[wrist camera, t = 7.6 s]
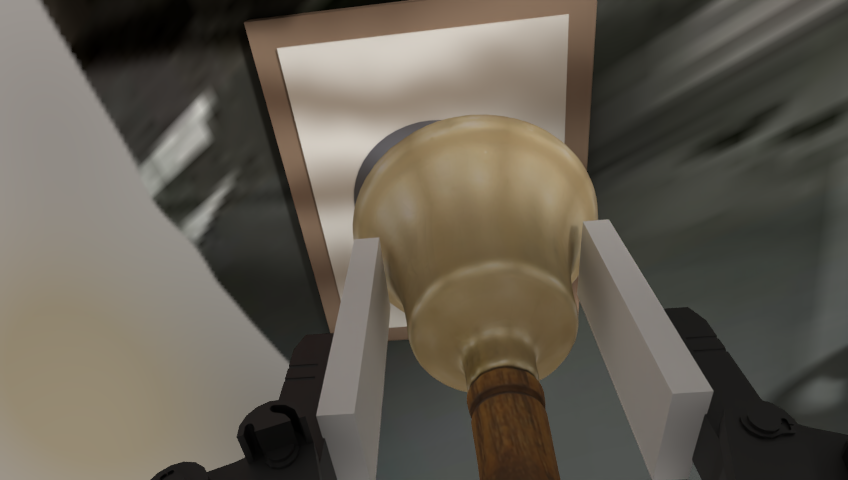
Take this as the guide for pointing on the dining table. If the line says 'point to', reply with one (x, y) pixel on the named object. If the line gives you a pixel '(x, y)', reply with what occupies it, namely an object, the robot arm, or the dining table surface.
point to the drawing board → (409, 96)
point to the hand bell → (485, 270)
